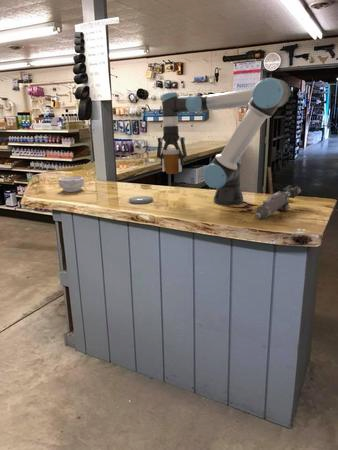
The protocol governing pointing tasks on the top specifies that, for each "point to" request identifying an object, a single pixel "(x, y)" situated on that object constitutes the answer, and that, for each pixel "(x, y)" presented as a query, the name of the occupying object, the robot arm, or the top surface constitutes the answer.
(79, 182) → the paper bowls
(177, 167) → the disposable coffee cup
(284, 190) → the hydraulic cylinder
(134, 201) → the slate dish
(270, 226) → the top surface
